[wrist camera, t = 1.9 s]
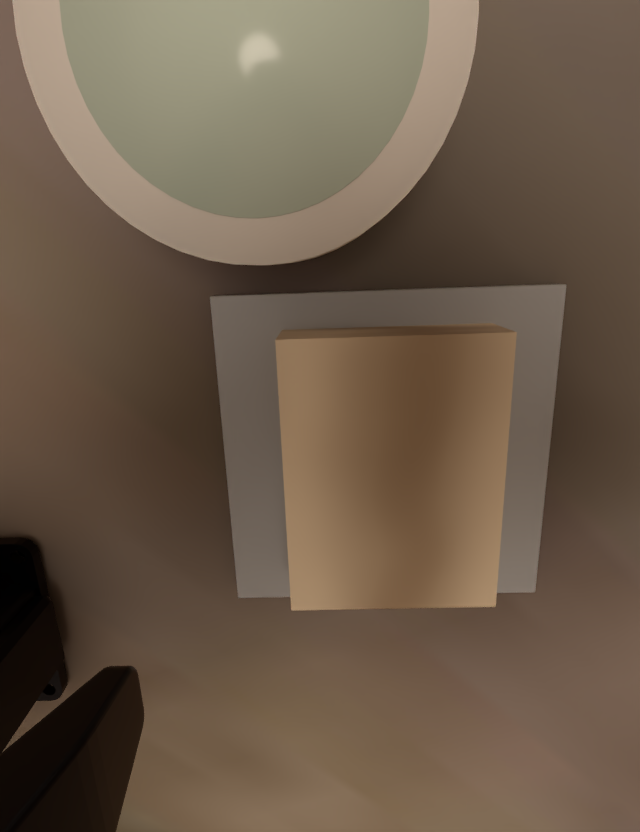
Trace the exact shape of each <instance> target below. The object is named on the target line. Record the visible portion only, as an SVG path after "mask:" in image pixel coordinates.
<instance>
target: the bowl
mask: <svg viewBox="0 0 640 832" xmlns="http://www.w3.org/2000/svg"><path fill="white" fill-rule="evenodd" d="M12 2H13V11H14V19H15V27H16V35H17V39H18V44H19V48H20V52H21V57H22V61H23V65H24V69H25V72H26V75H27V78H28V81H29V84H30V87H31V89H32V92H33V95H34V98H35V101H36V103H37V105H38V107H39V109H40V112H41V114H42V116H43V118H44V120H45V122H46V124H47V126H48V129H49V131H50V133H51V134H52V136H53V137H54V139H55V141H56V142H57V144H58V146H59V147H60V149H61V150H62V152H63V154H64V155H65V157H66V159H67V160H68V161H69V163H70V164H71V165H72V166H73V168H74V169H75V170H76V172H77V173H78V174H79V175H80V177H81V178H82V179H83V181H84V182H85V183H86V184H87V185H88V187H89V188H90V189H91V190H92V191H93V192H94V193H95V194H96V195H97V196H98V197H99V198H100V199H101V200H102V201H103V202H104V203H105V204H106V205H107V206H108V207H109V208H111V209H112V210H113V211H114V212H116V213H117V214H118V215H119V216H121V217H122V218H123V219H124V220H126V221H127V222H128V223H129V224H131V225H132V226H134V227H135V228H137V229H138V230H140V231H142V232H143V233H145V234H146V235H148V236H150V237H151V238H153V239H154V240H156V241H159V242H161V243H163V244H165V245H167V246H169V247H172V248H174V249H176V250H178V251H180V252H183V253H186V254H190V255H193V256H196V257H199V258H202V259H206V260H210V261H216V262H222V263H228V264H234V265H279V264H288V263H297V262H301V261H305V260H309V259H313V258H317V257H320V256H322V255H325V254H327V253H330V252H332V251H335V250H337V249H339V248H341V247H342V246H344V245H346V244H348V243H350V242H351V241H353V240H355V239H356V238H358V237H359V236H360V235H362V234H363V233H364V232H366V231H367V230H368V229H370V228H371V227H372V226H374V225H375V224H376V223H377V222H379V221H380V220H381V219H382V218H383V217H385V216H386V215H387V214H388V213H389V212H390V211H391V210H392V209H393V208H394V207H395V206H396V205H397V204H398V203H399V202H400V201H401V200H402V199H403V198H404V197H405V196H406V195H407V194H408V193H409V192H410V191H411V189H412V188H413V187H414V186H415V184H416V183H417V182H418V181H419V179H420V178H421V177H422V176H423V174H424V173H425V172H426V171H427V169H428V167H429V166H430V164H431V163H432V161H433V159H434V158H435V156H436V155H437V153H438V151H439V150H440V148H441V147H442V145H443V143H444V141H445V139H446V137H447V135H448V132H449V130H450V128H451V126H452V124H453V122H454V120H455V118H456V115H457V113H458V110H459V107H460V104H461V101H462V98H463V95H464V92H465V89H466V86H467V83H468V79H469V74H470V70H471V65H472V61H473V56H474V51H475V45H476V35H477V26H478V16H479V0H12Z"/></svg>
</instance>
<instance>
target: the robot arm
mask: <svg viewBox="0 0 640 832" xmlns="http://www.w3.org/2000/svg"><path fill="white" fill-rule="evenodd" d="M17 551H20V552H22V553H23V554H24V556H25V557H22V556H20V555H19V554H18V552H17ZM63 660H64V653H63V649H62V644H61V640H60V635H59V630H58V626H57V621H56V617H55V612H54V607H53V603H52V601H51V599H50V598H49V594H48V589H47V585H46V580H45V576H44V571H43V567H42V562H41V557H40V553H39V549H38V547H37V545H36V544H35V543H34V542H33V541H31V540H29V539H26V538H0V832H116V829H117V825H118V821H119V817H120V814H121V810H122V806H123V802H124V798H125V794H126V790H127V786H128V783H129V779H130V775H131V771H132V767H133V763H134V759H135V755H136V752H137V748H138V744H139V740H140V736H141V732H142V728H143V722H144V707H143V701H142V695H141V689H140V683H139V677H138V673H137V670H136V669H135V668H134V667H133V666H109V667H106V668H104V669H103V670H101V671H100V672H99V673H97V674H96V675H95V676H94V677H93V678H91V679H90V680H89V681H88V682H87V683H85V684H84V685H83V686H82V687H81V688H79V689H78V690H77V691H76V692H75V693H73V694H72V695H71V696H70V697H69V698H67V699H66V700H65V701H64V702H63V703H61V704H60V705H59V706H58V707H57V708H55V709H54V710H53V711H52V712H51V713H49V714H48V715H47V716H46V717H44V718H43V719H42V720H41V721H40V722H38V723H37V724H36V725H35V726H34V727H32V728H31V729H30V730H29V731H28V732H26V733H25V734H24V735H23V736H22V737H20V738H19V739H18V740H17V741H16V742H14V743H13V744H12V745H11V746H10V747H8V748H7V749H6V750H5V751H4V752H2V751H3V750H4V748H5V747H6V745H7V744H8V742H9V741H10V739H11V738H12V736H13V735H14V733H15V732H16V730H17V729H18V727H19V726H20V724H21V723H22V721H23V720H24V718H25V717H26V715H27V714H28V712H29V711H30V709H31V708H32V706H33V705H34V703H35V702H36V701H51V700H56V699H58V698H59V697H60V696H61V695H62V693H63V691H64V690H65V688H66V686H67V676H66V672H65V667H64V662H63ZM50 684H51V685H52V686H51V685H50Z"/></svg>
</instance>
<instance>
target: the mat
mask: <svg viewBox="0 0 640 832" xmlns="http://www.w3.org/2000/svg"><path fill="white" fill-rule="evenodd" d="M565 295H566V284H533V285H504V286H474V287H445V288H416V289H386V290H357V291H328V292H299V293H269V294H240V295H214V296H210V304H211V315H212V325H213V336H214V346H215V357H216V368H217V378H218V389H219V400H220V410H221V421H222V432H223V442H224V453H225V463H226V474H227V485H228V495H229V506H230V517H231V527H232V538H233V549H234V559H235V570H236V581H237V591H238V598H263V597H290V581H289V564H288V547H287V531H286V514H285V497H284V480H283V463H282V446H281V429H280V413H279V396H278V379H277V362H276V345H275V339H276V338H277V337H278V335H279V334H280V332H281V331H282V330H294V329H324V328H355V327H386V326H417V325H448V324H479V323H493V324H496V325H499V326H501V327H504V328H507V329H509V330H512V331H515V332H517V336H516V349H515V362H514V375H513V388H512V401H511V414H510V427H509V440H508V453H507V466H506V479H505V492H504V505H503V518H502V531H501V544H500V557H499V570H498V583H497V593H523V592H535V588H536V578H537V569H538V559H539V549H540V539H541V530H542V520H543V510H544V500H545V490H546V481H547V471H548V461H549V451H550V441H551V432H552V422H553V412H554V402H555V393H556V383H557V373H558V363H559V353H560V344H561V334H562V324H563V314H564V304H565Z"/></svg>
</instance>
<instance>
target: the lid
mask: <svg viewBox="0 0 640 832" xmlns="http://www.w3.org/2000/svg"><path fill="white" fill-rule="evenodd" d="M516 336H517V332H515V331H512V330H509V329H507V328H504V327H501V326H499V325H496V324H493V323H479V324H448V325H417V326H386V327H355V328H324V329H294V330H282V331H281V332H280V334H279V335H278V337H277V338H276V339H275V345H276V362H277V379H278V396H279V413H280V429H281V446H282V463H283V480H284V497H285V514H286V531H287V547H288V564H289V581H290V598H291V610H343V609H396V608H450V607H496V596H497V583H498V570H499V557H500V544H501V531H502V518H503V505H504V492H505V479H506V466H507V453H508V440H509V427H510V414H511V401H512V388H513V375H514V362H515V349H516Z"/></svg>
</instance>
